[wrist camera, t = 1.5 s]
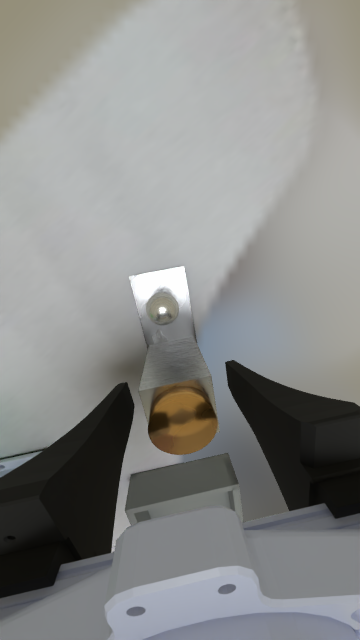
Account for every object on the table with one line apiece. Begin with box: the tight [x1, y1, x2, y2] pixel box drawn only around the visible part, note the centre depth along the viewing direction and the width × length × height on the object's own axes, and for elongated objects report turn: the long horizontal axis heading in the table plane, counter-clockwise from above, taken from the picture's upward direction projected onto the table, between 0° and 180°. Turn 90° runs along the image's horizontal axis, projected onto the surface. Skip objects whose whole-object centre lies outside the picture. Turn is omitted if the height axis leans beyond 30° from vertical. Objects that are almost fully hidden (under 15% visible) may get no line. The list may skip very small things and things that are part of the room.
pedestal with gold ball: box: [139, 336, 220, 455], centre depth 12 cm, size 4×4×7 cm
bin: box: [125, 453, 243, 526], centre depth 20 cm, size 11×17×3 cm, turn 11°
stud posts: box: [129, 266, 197, 348], centre depth 14 cm, size 4×16×4 cm, turn 11°
